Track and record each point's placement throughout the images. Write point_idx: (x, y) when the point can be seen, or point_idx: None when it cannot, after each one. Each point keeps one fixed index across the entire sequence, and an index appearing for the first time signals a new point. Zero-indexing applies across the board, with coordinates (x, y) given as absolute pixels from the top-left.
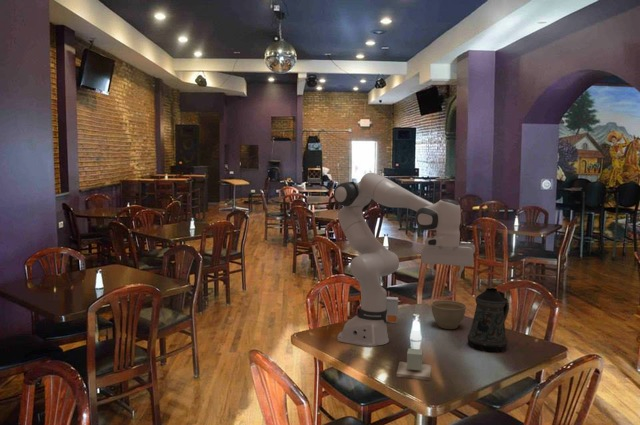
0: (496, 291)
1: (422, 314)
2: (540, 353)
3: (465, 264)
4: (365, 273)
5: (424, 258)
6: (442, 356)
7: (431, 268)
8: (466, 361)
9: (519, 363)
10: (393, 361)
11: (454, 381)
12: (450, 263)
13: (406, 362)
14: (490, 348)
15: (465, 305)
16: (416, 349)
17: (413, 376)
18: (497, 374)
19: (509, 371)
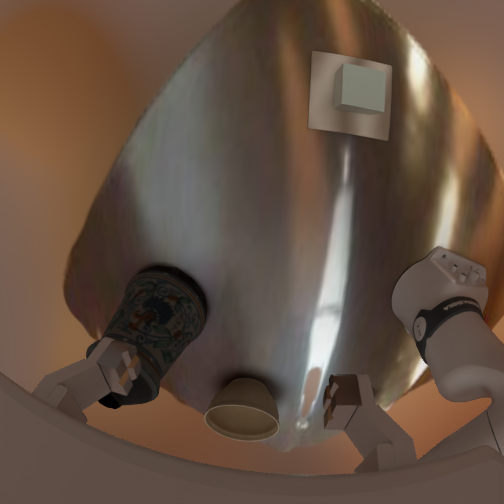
0: None
1: (290, 426)
2: (84, 276)
3: (3, 389)
4: None
5: (493, 489)
6: (272, 217)
7: (388, 423)
8: (213, 196)
9: (109, 214)
10: (398, 160)
11: (251, 60)
12: (135, 462)
13: (371, 136)
14: (157, 269)
15: (205, 421)
16: (360, 103)
17: (352, 58)
18: (150, 133)
19: (127, 160)
